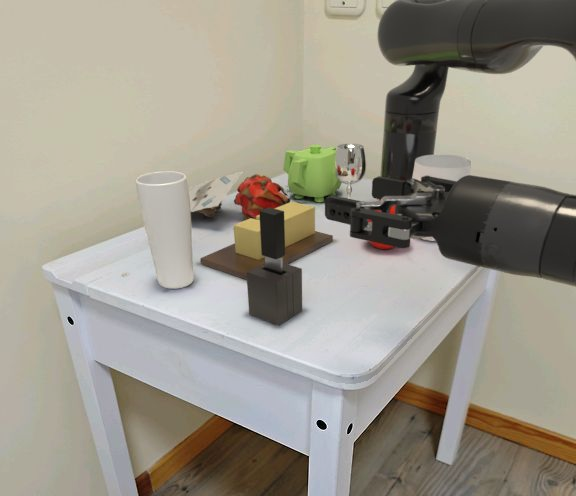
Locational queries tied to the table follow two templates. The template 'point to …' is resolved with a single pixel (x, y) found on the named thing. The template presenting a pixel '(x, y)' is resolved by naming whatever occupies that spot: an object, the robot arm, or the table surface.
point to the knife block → (274, 293)
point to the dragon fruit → (259, 195)
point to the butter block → (297, 221)
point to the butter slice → (248, 238)
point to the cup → (441, 169)
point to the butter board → (241, 264)
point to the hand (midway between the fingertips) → (351, 196)
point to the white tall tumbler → (167, 225)
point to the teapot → (312, 172)
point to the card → (210, 194)
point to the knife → (272, 239)
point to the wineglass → (350, 164)
